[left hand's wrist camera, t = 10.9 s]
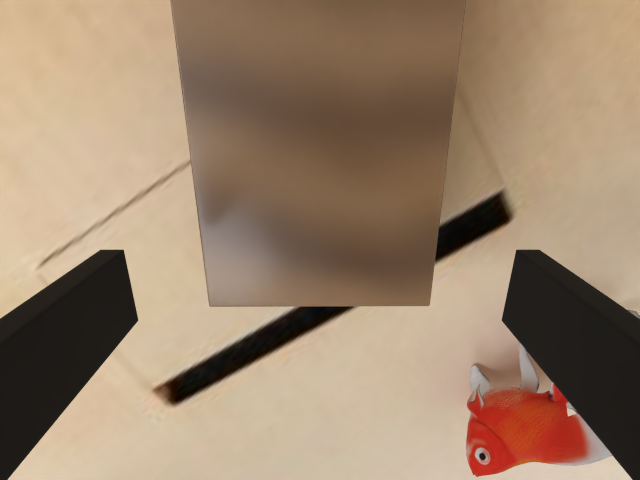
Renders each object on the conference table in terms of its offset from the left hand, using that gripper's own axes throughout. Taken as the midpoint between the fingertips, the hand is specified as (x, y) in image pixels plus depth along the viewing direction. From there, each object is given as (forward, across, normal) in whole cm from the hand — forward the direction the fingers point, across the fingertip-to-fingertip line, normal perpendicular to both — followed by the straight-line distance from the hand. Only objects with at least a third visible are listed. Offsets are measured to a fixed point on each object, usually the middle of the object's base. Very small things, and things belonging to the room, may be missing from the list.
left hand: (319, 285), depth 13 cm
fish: (+14, -16, +14) cm, 25 cm away
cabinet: (+14, 0, -6) cm, 15 cm away
